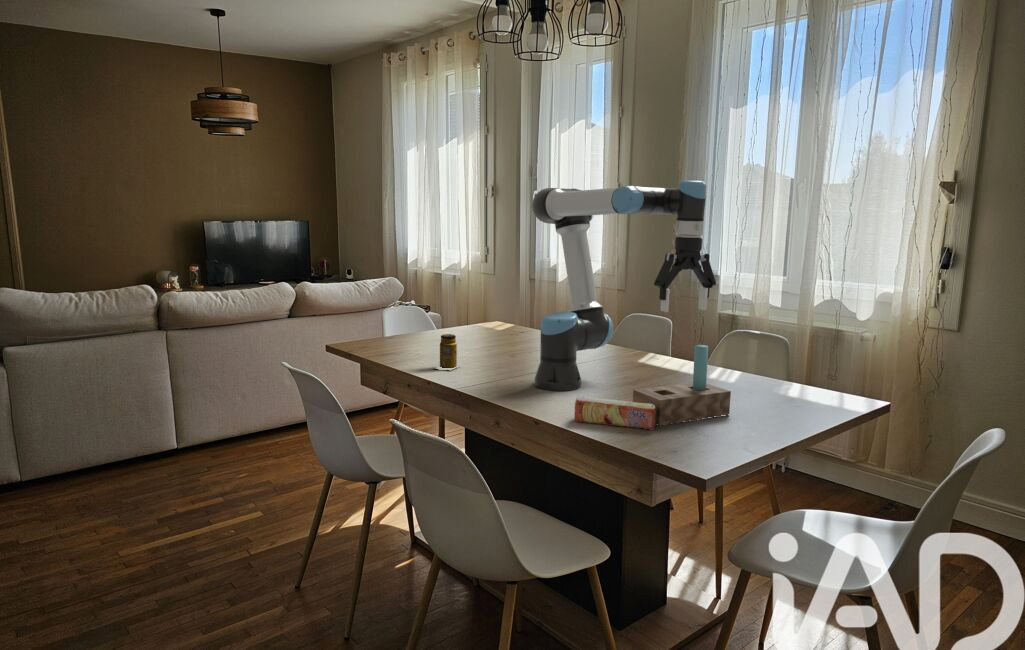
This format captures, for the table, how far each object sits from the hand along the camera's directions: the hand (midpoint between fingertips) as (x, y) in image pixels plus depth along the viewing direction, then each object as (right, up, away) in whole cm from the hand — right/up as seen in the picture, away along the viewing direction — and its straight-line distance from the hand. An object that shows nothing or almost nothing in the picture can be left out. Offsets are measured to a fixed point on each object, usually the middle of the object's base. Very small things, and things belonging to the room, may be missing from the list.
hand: (683, 310), depth 197 cm
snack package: (-22, -31, -16) cm, 41 cm away
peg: (+3, -28, -5) cm, 28 cm away
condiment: (-73, -20, +47) cm, 89 cm away
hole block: (-3, -29, -7) cm, 30 cm away
